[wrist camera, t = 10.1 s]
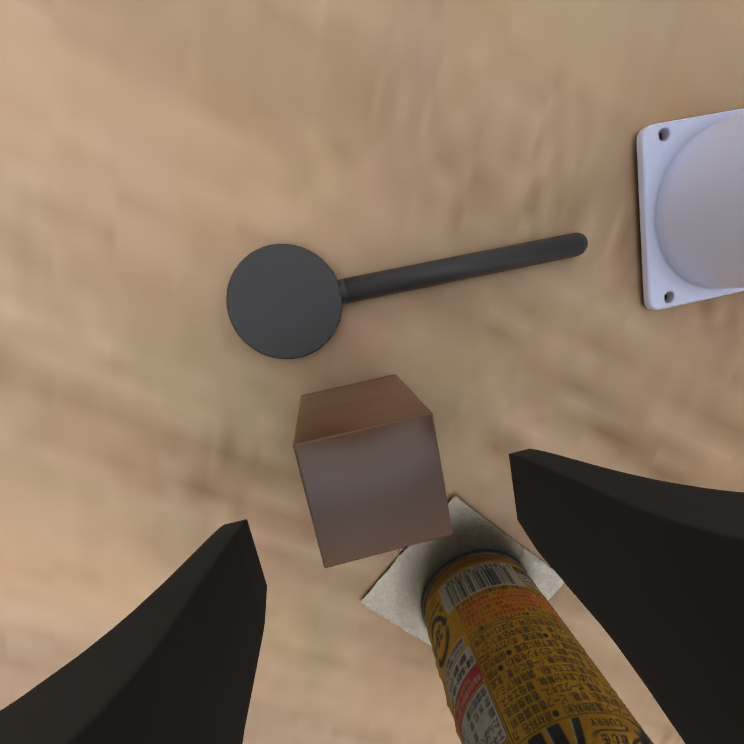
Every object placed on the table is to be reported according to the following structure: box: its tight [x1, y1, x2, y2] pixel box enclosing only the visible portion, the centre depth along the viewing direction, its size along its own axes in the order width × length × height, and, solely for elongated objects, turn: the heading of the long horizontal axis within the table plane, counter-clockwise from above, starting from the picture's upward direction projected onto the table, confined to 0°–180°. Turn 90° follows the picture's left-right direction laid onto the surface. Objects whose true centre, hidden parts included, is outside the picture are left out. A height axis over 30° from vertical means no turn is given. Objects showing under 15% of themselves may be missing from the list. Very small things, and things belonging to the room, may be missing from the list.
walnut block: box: [293, 375, 453, 568], centre depth 16 cm, size 4×4×6 cm
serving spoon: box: [226, 233, 588, 359], centre depth 17 cm, size 16×5×1 cm, turn 101°
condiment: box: [361, 496, 654, 744], centre depth 15 cm, size 7×8×12 cm
